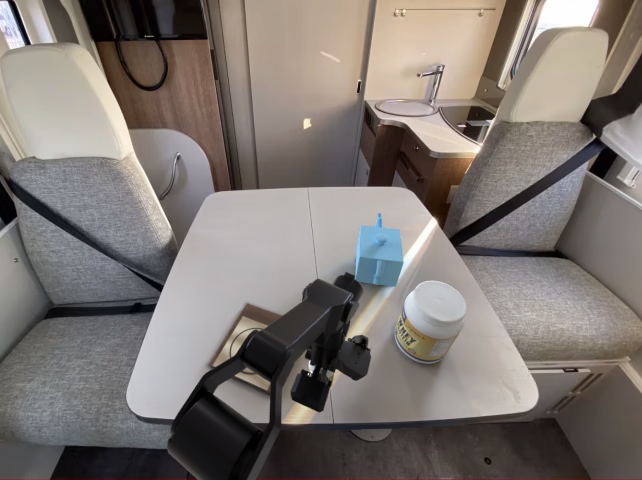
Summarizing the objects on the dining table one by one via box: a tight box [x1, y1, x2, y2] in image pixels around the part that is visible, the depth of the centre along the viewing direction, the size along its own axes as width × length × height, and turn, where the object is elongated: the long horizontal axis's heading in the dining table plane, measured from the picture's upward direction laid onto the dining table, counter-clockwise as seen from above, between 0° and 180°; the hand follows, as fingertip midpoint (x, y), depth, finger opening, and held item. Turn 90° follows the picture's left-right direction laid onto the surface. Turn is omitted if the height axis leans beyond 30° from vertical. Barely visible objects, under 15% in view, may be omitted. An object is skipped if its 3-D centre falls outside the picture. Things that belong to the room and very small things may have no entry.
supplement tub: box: [394, 280, 468, 365], centre depth 70 cm, size 12×12×17 cm
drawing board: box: [208, 303, 282, 394], centre depth 75 cm, size 18×16×1 cm
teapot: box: [354, 212, 405, 288], centre depth 89 cm, size 22×11×14 cm, turn 169°
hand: (320, 374), depth 65 cm, fingers closed on supplement bottle, 5 cm apart
